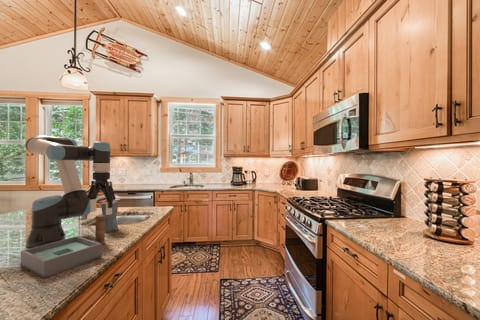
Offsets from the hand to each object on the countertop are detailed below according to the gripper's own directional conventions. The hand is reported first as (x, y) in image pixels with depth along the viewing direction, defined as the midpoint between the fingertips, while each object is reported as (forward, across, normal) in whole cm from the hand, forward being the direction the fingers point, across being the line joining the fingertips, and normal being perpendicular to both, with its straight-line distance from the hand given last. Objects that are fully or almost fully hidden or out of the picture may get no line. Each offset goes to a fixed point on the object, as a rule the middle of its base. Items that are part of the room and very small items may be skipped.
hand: (100, 213), depth 110 cm
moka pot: (+16, -18, +16) cm, 29 cm away
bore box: (+16, +6, -19) cm, 26 cm away
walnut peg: (+16, 0, 0) cm, 16 cm away
